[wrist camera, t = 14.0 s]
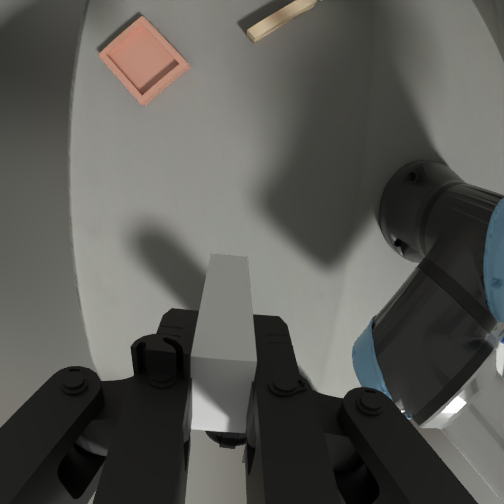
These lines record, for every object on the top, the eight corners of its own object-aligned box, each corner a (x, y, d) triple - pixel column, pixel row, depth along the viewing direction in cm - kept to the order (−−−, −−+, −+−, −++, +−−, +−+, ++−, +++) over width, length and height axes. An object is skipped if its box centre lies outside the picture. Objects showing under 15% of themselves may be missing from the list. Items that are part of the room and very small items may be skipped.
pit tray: (146, 20, 32) (142, 15, 31) (190, 67, 35) (188, 64, 34) (103, 57, 34) (97, 54, 32) (145, 105, 37) (141, 104, 35)
